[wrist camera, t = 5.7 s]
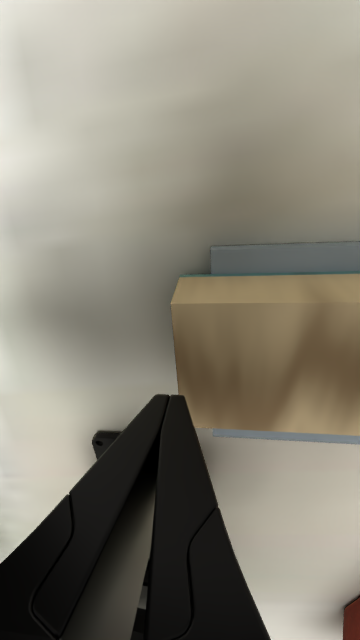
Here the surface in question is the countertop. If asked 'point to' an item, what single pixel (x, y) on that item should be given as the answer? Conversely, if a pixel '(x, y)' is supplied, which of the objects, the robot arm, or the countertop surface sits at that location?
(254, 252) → the mat
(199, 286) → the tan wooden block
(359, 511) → the countertop surface
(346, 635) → the plant pot
